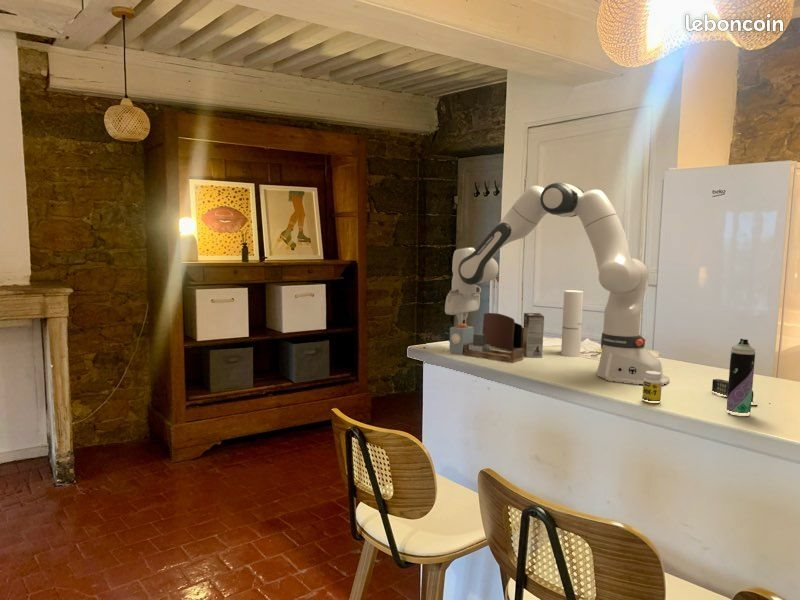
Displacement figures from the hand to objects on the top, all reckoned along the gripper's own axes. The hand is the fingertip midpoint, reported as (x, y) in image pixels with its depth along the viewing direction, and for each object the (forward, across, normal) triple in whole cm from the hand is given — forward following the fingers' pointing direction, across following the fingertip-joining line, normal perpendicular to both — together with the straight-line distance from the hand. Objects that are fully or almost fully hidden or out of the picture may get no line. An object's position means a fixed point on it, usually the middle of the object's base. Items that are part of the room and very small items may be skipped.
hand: (461, 324), depth 231 cm
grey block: (+11, 0, 0) cm, 11 cm away
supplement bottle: (+11, -24, -78) cm, 82 cm away
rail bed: (+11, 0, -14) cm, 18 cm away
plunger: (+7, 0, 0) cm, 7 cm away
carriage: (+10, 0, -8) cm, 13 cm away
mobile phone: (+11, -6, -95) cm, 96 cm away
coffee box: (+11, +14, -24) cm, 30 cm away
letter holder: (+12, +24, -7) cm, 27 cm away
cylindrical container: (+11, +25, -35) cm, 44 cm away
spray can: (+11, -21, -99) cm, 101 cm away
